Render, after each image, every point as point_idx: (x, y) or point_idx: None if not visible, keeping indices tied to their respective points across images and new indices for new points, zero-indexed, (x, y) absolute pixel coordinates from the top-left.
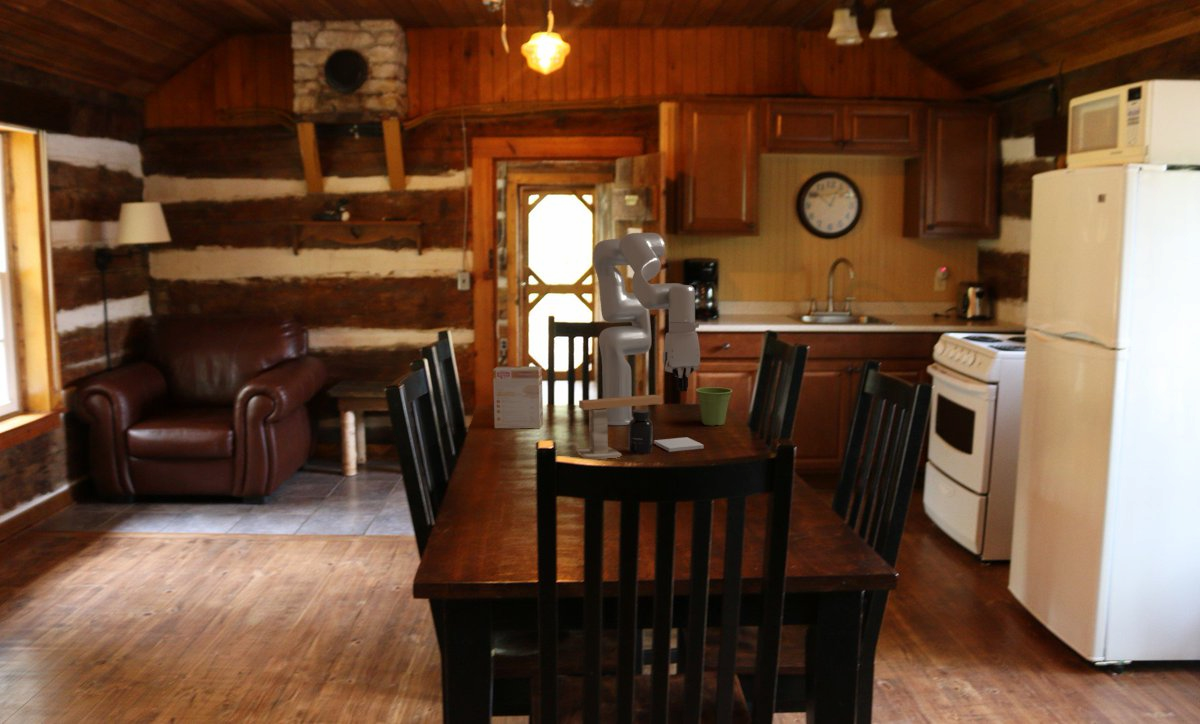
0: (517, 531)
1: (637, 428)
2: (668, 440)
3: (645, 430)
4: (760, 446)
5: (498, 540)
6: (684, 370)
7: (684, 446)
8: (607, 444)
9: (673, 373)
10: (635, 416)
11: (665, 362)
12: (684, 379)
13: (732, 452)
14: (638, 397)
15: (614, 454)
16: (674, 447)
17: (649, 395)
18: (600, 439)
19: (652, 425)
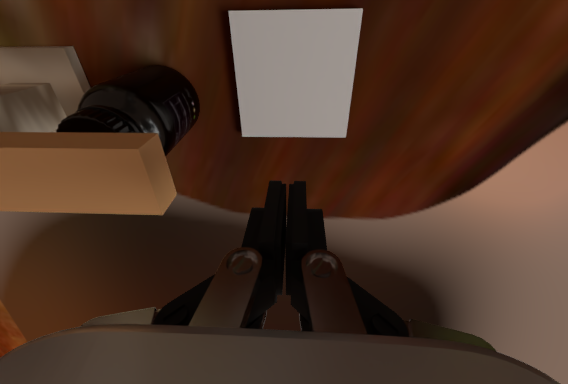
0: (19, 341)
1: None
2: (276, 35)
3: None
4: (484, 170)
5: (9, 348)
6: (320, 313)
7: (288, 133)
8: (51, 130)
9: (195, 295)
10: None
11: (3, 377)
12: (286, 286)
13: (380, 192)
14: (30, 187)
15: None
16: (258, 133)
17: (91, 161)
18: None
19: (170, 146)
